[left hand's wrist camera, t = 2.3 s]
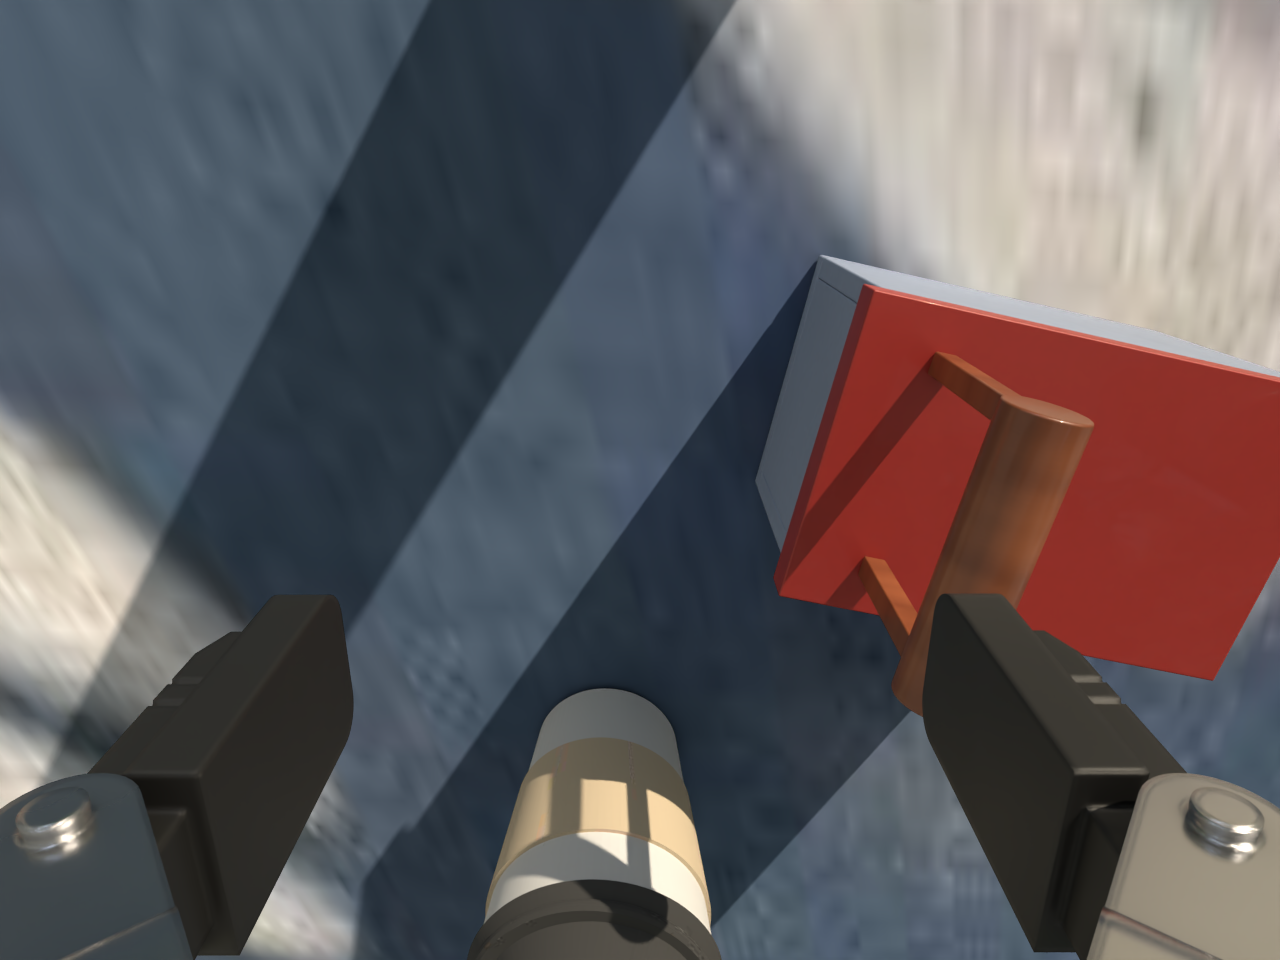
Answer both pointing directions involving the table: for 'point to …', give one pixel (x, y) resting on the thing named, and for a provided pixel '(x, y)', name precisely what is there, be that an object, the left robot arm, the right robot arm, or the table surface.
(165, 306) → the table surface
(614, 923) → the coffee cup
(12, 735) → the table surface
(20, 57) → the table surface
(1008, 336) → the lid
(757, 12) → the table surface
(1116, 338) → the chest
